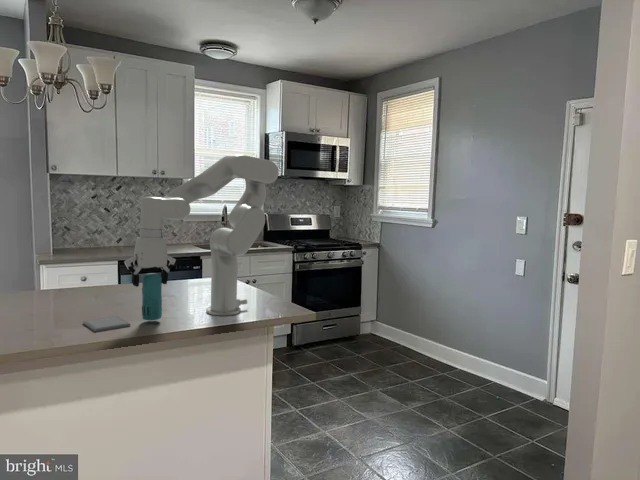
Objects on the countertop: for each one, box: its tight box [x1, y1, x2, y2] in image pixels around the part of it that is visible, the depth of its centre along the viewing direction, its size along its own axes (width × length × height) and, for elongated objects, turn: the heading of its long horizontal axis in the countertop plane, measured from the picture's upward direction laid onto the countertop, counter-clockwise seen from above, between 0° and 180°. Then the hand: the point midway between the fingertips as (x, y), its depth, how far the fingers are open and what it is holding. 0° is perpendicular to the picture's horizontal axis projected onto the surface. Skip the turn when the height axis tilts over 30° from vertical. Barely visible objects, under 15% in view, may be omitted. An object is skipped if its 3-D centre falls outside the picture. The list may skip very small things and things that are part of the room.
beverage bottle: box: [141, 267, 163, 321], centre depth 158 cm, size 6×7×20 cm
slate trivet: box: [82, 315, 131, 333], centre depth 153 cm, size 11×11×1 cm
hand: (150, 284), depth 157 cm, fingers open, 9 cm apart
